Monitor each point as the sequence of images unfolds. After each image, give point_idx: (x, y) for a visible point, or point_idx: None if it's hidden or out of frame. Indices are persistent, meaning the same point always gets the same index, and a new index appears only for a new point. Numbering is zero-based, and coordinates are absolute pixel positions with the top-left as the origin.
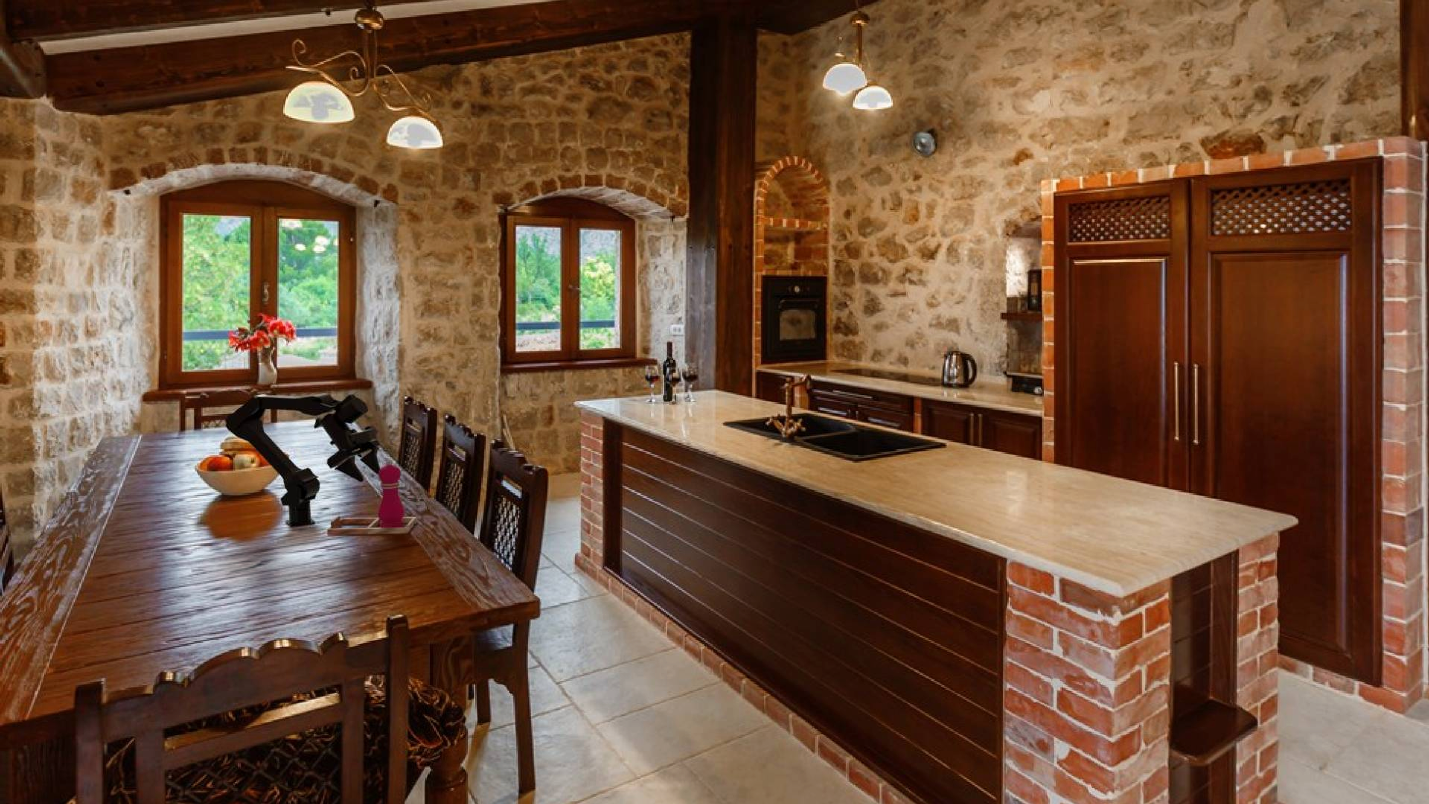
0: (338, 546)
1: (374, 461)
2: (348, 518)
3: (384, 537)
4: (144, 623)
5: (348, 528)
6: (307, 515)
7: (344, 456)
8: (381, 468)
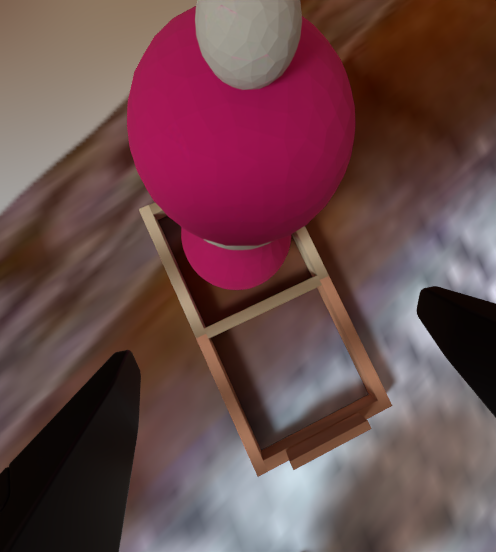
0: (456, 271)
1: (60, 500)
2: (249, 443)
3: (329, 201)
4: None
5: (351, 342)
6: None
7: None
8: (326, 146)
